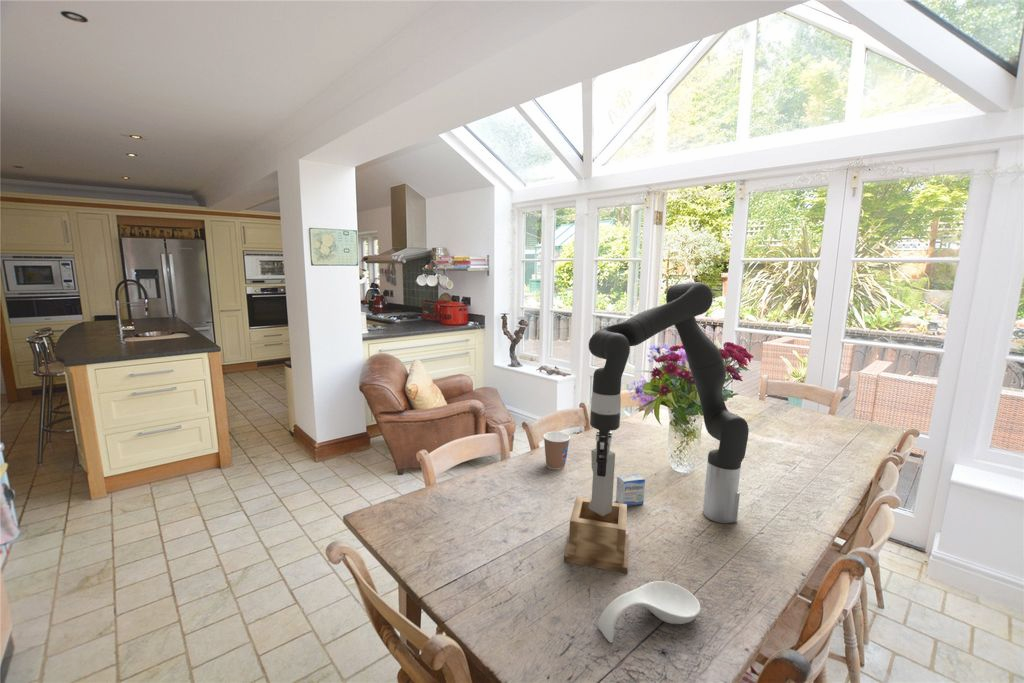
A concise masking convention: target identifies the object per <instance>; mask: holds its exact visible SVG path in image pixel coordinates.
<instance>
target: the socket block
mask: <svg viewBox="0 0 1024 683" xmlns="http://www.w3.org/2000/svg"><path fill="white" fill-rule="evenodd" d="M574 500H575V501H574V505H573V508H572V512H571V516H570V519H569V532H568V533H569V536H568V538H567V539H568V540H567V542H566V543H567V544H566V547H565V550H564V555H563V562H567V563H571V564H577V565H581V566H587V567H593V568H597V569H603V570H608V571H613V572H617V573H618V572H619V573H624V574H628V567H629V565H628V564H629V540H630V539H629V534H628V533H627V513H628V512H627V511H628V508H627V507H628V506H627V504H621V503H618V502H614V501H612V512H610V513H608V514H606V515H604V516H601V515H599V514H597V513H595V512H594V511H592V510H590V509H589V508H588V507H589V503H590V502H591V500H592V498H588V497H587V498H586V497H583V496H582V497H580V496H576V497H575V499H574Z"/></svg>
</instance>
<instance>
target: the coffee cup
mask: <svg viewBox="0 0 1024 683" xmlns="http://www.w3.org/2000/svg"><path fill="white" fill-rule="evenodd" d="M570 439H571V436H570V435H569V434H568V433H566V432H563V431H562V432H561V431H547V432H546V433H544V434H543V440H544V441H543V443H544V453H545V454H544V455H545V462H546V467H547V468H548V469H551V470H562V469H564V468H565V465H566V462H567V456H568V450H569V445H570Z"/></svg>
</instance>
